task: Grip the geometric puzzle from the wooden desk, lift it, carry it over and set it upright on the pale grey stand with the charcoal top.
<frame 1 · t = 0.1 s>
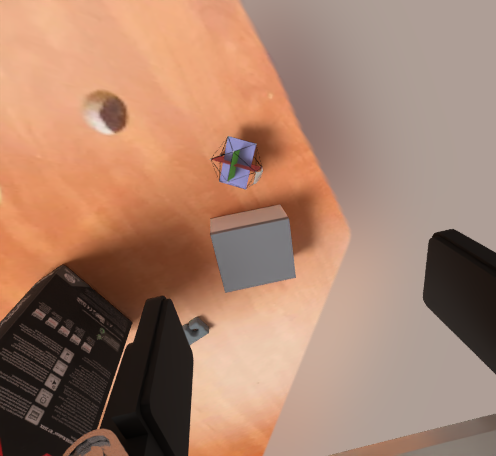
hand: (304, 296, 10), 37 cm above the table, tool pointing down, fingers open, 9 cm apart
grey stand: (250, 239, 51), on the table
bracket: (183, 332, 59), on the table
geometric puzzle: (235, 158, 45), on the table
graphics card box: (88, 300, 52), on the table
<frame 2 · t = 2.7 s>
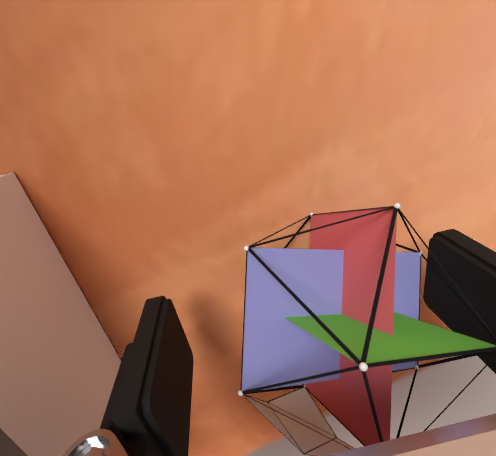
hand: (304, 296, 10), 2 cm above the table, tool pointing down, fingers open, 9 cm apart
geometric puzzle: (295, 265, 12), on the table, touching gripper
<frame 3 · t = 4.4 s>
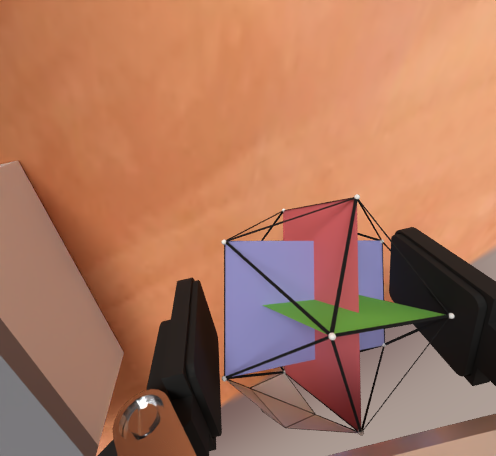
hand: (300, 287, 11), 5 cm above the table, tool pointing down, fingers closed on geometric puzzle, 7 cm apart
geometric puzzle: (270, 259, 13), point 3 cm above the table, touching gripper
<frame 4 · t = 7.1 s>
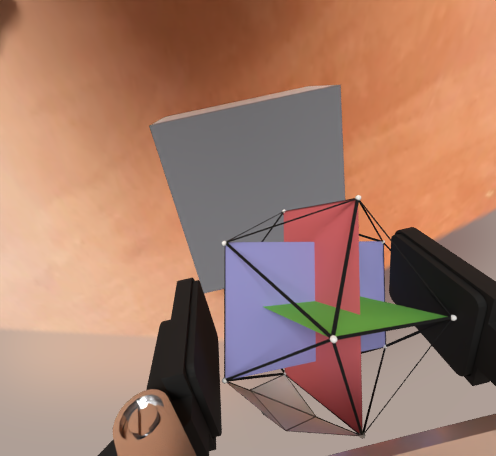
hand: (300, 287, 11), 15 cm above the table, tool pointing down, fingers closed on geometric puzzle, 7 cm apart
grey stand: (251, 178, 24), on the table
geometric puzzle: (271, 260, 13), point 13 cm above the table, touching gripper
when the fingers open (9 cm above the table, at t = 8.7 s): geometric puzzle stays where it is, resting on grey stand.
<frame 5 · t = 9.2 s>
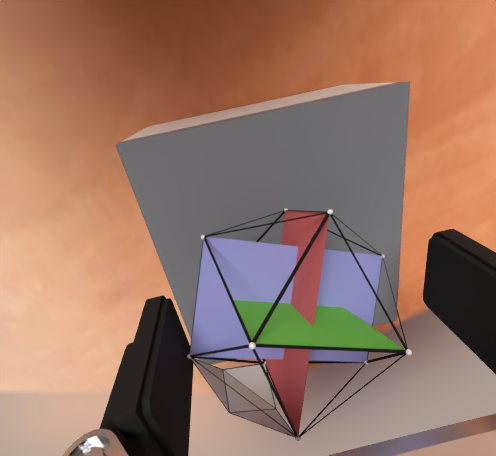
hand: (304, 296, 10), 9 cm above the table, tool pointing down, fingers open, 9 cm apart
grey stand: (263, 204, 19), on the table
geometric puzzle: (272, 255, 13), point 6 cm above the table, touching grey stand
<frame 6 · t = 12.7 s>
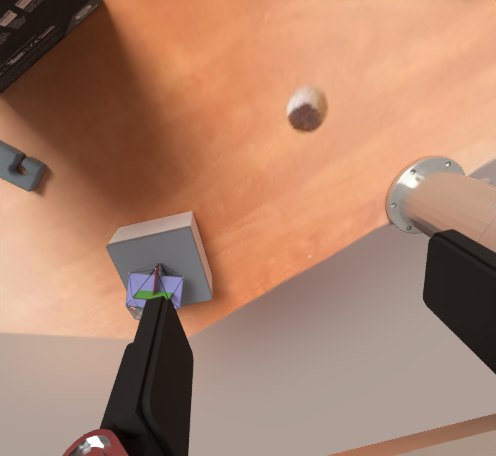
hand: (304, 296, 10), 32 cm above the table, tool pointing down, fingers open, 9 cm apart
grey stand: (168, 253, 45), on the table
bracket: (1, 153, 37), on the table
geometric puzzle: (159, 276, 40), point 6 cm above the table, touching grey stand
graphics card box: (31, 24, 31), on the table
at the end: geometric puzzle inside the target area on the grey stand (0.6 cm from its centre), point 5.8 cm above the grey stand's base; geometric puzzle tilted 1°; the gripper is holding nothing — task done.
